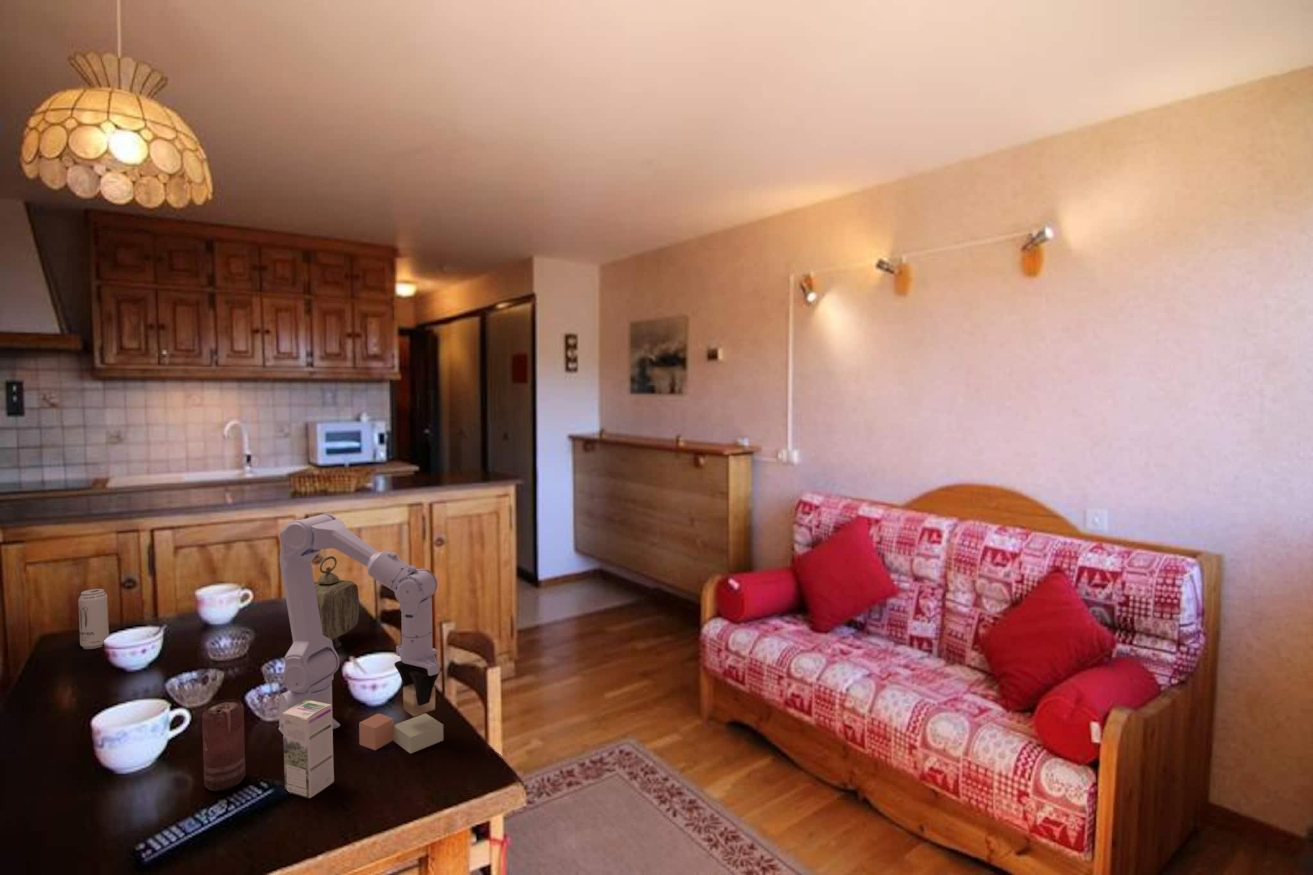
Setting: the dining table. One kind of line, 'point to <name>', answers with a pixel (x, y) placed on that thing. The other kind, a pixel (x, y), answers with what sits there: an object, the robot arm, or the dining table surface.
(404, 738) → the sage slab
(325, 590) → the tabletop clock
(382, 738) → the terracotta cube
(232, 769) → the can
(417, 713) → the maple cube
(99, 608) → the energy drink can
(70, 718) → the dining table surface
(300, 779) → the syrup box
